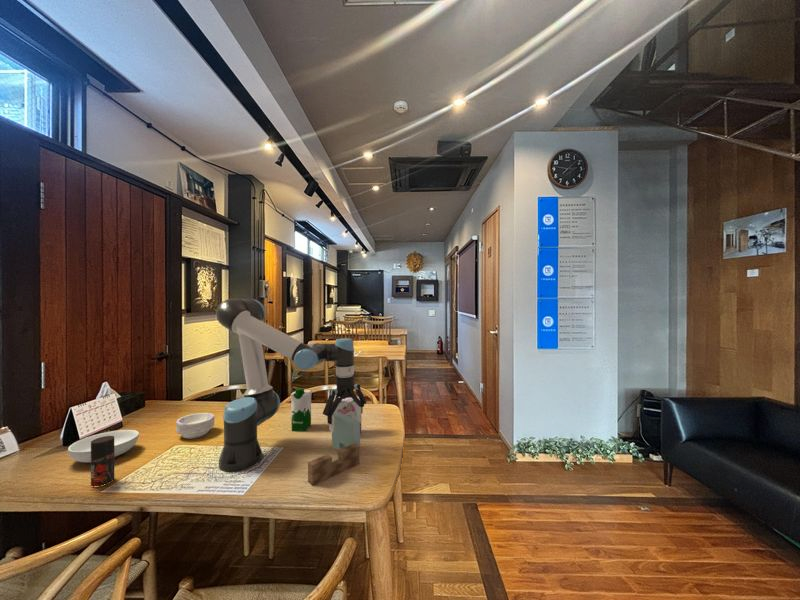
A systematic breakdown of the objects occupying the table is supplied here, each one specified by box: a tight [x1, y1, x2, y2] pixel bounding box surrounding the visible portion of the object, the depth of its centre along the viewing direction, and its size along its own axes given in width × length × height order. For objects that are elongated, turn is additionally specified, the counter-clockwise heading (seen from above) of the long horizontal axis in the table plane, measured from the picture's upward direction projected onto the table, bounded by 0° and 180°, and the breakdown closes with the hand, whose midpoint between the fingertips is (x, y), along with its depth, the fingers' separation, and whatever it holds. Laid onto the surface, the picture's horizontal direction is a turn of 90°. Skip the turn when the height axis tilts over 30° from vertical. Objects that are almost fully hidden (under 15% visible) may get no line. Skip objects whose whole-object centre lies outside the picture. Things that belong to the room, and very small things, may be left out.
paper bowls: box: [175, 412, 215, 439], centre depth 146 cm, size 15×15×8 cm
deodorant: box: [90, 436, 115, 488], centre depth 108 cm, size 6×6×15 cm
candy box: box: [330, 396, 362, 436], centre depth 146 cm, size 14×6×16 cm, turn 105°
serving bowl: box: [67, 429, 140, 463], centre depth 126 cm, size 21×21×7 cm
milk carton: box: [290, 387, 313, 432], centre depth 153 cm, size 9×9×20 cm
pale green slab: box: [331, 412, 361, 451], centre depth 129 cm, size 3×16×14 cm, turn 44°
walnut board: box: [307, 443, 361, 486], centre depth 113 cm, size 20×3×7 cm, turn 134°
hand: (345, 426), depth 129 cm, fingers open, 13 cm apart
